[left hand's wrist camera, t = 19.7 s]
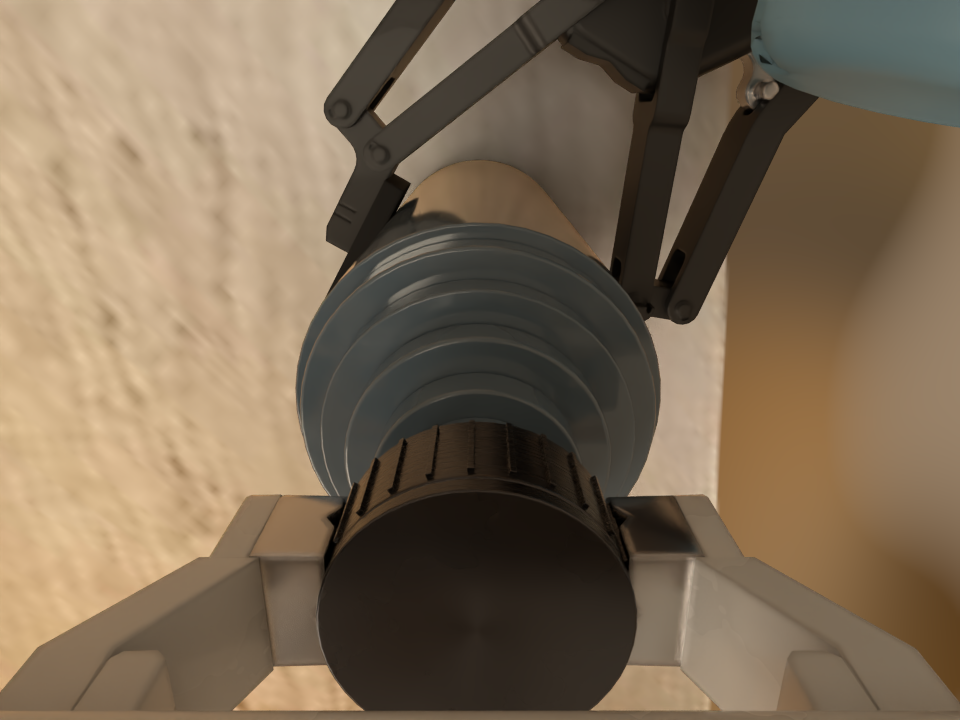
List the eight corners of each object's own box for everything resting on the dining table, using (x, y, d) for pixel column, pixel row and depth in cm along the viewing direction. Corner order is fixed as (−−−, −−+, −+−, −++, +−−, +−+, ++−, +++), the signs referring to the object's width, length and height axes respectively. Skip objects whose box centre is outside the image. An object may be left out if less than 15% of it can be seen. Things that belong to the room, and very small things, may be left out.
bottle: (361, 249, 33) (51, 609, 9) (476, 121, 31) (461, 154, 7) (482, 357, 35) (485, 884, 11) (597, 243, 33) (907, 592, 9)
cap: (667, 560, 10) (705, 652, 9) (456, 688, 11) (451, 795, 10) (503, 360, 9) (509, 420, 7) (282, 520, 10) (241, 607, 8)
